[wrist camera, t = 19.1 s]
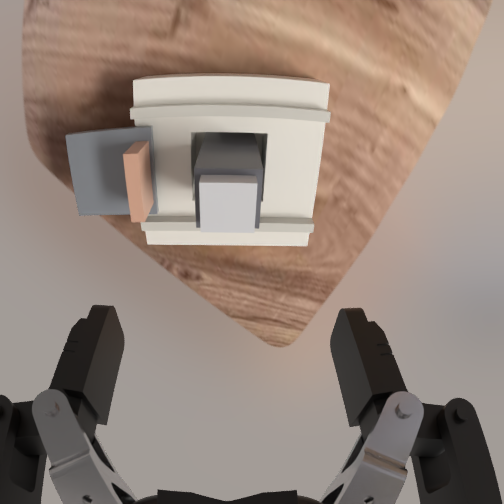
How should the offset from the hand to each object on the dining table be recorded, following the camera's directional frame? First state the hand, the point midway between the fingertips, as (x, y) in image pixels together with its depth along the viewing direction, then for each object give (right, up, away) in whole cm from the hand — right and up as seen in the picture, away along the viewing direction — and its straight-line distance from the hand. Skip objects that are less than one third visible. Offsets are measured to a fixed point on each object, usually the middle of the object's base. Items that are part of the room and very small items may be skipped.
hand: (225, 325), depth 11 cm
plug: (-1, +11, +16) cm, 19 cm away
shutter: (-10, +9, +12) cm, 18 cm away
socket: (-1, +11, +16) cm, 20 cm away
